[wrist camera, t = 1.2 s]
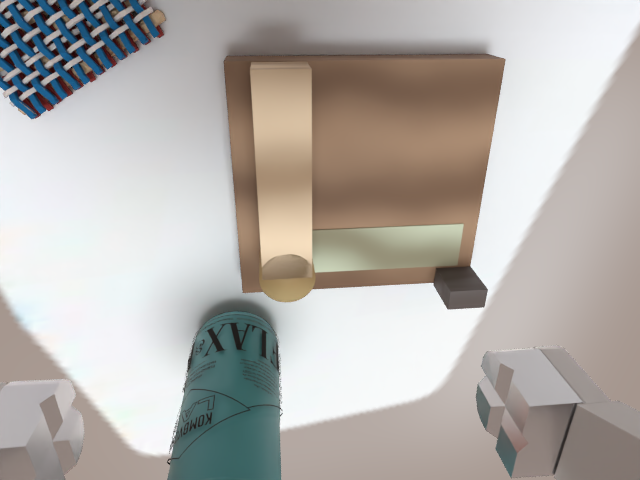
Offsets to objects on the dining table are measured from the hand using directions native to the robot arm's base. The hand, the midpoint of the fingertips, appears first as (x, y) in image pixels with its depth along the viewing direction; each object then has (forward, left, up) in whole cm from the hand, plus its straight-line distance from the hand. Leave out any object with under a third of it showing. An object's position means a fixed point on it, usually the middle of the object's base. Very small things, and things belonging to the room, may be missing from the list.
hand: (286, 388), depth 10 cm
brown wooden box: (+4, +6, -23) cm, 24 cm away
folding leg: (+3, +1, -20) cm, 21 cm away
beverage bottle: (+16, -3, -24) cm, 29 cm away
